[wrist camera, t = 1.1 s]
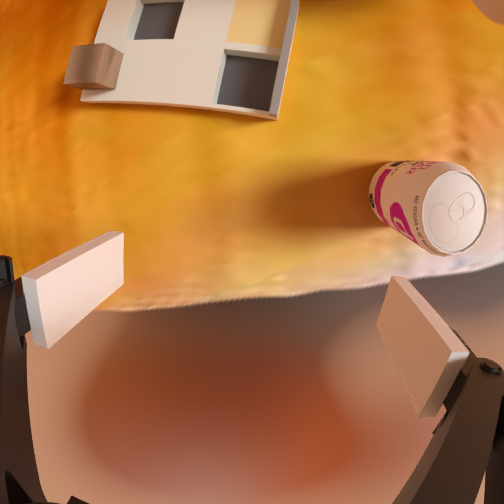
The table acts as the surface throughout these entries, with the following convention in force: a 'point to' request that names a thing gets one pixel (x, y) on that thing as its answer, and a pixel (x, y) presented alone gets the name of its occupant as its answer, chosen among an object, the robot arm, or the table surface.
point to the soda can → (430, 204)
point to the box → (200, 53)
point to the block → (93, 67)
